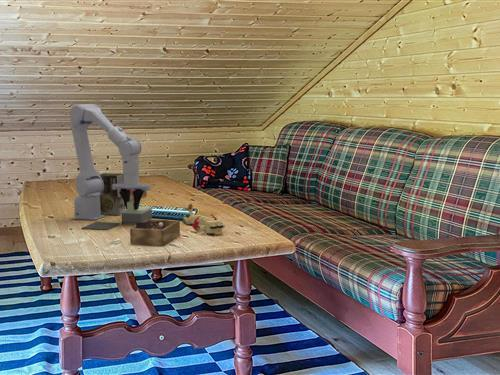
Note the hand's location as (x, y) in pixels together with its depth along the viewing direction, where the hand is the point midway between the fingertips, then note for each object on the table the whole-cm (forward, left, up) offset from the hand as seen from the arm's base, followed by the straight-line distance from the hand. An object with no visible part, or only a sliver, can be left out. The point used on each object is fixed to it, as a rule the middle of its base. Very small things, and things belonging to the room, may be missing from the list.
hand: (132, 209), depth 229 cm
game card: (+17, -24, -6) cm, 30 cm away
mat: (-9, -8, -5) cm, 13 cm away
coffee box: (-16, +16, -6) cm, 23 cm away
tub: (0, +4, -5) cm, 7 cm away
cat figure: (+29, -4, -6) cm, 30 cm away
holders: (-4, +14, -5) cm, 16 cm away
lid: (0, +4, -1) cm, 4 cm away
